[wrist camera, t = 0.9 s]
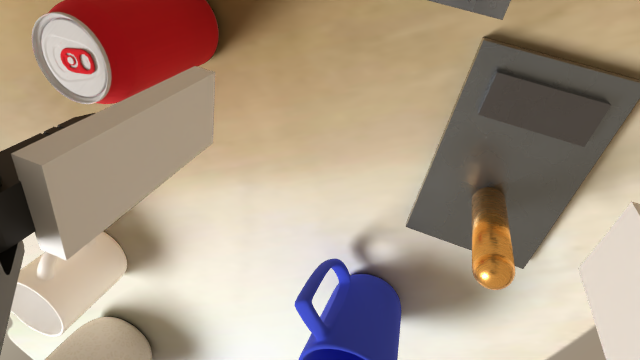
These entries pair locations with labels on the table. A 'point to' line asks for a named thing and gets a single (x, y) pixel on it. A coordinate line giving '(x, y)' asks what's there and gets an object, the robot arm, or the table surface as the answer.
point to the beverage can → (121, 45)
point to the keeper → (517, 153)
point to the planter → (104, 342)
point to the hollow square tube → (480, 6)
